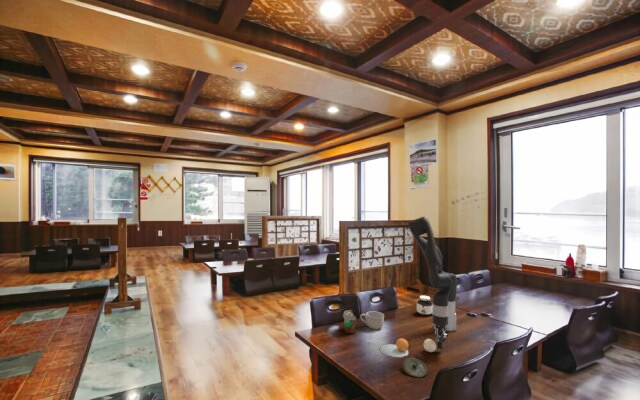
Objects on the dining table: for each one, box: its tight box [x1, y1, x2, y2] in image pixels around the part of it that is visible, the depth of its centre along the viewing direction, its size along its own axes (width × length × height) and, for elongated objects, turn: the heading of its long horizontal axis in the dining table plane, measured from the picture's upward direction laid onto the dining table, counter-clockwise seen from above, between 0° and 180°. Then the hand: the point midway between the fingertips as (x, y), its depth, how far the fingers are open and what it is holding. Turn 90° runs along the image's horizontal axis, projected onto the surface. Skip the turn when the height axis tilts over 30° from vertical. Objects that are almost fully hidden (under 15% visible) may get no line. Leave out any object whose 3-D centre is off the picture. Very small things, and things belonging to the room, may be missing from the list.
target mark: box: [379, 343, 409, 358], centre depth 157 cm, size 14×14×1 cm
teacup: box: [359, 310, 385, 330], centre depth 188 cm, size 14×11×8 cm
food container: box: [342, 309, 357, 335], centre depth 181 cm, size 12×6×10 cm, turn 5°
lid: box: [401, 356, 428, 378], centre depth 137 cm, size 11×10×5 cm
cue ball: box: [423, 338, 437, 353], centre depth 157 cm, size 6×6×6 cm
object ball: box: [395, 337, 410, 351], centre depth 157 cm, size 6×6×6 cm
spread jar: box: [416, 295, 433, 317], centre depth 215 cm, size 12×11×12 cm
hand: (439, 348), depth 157 cm, fingers closed
